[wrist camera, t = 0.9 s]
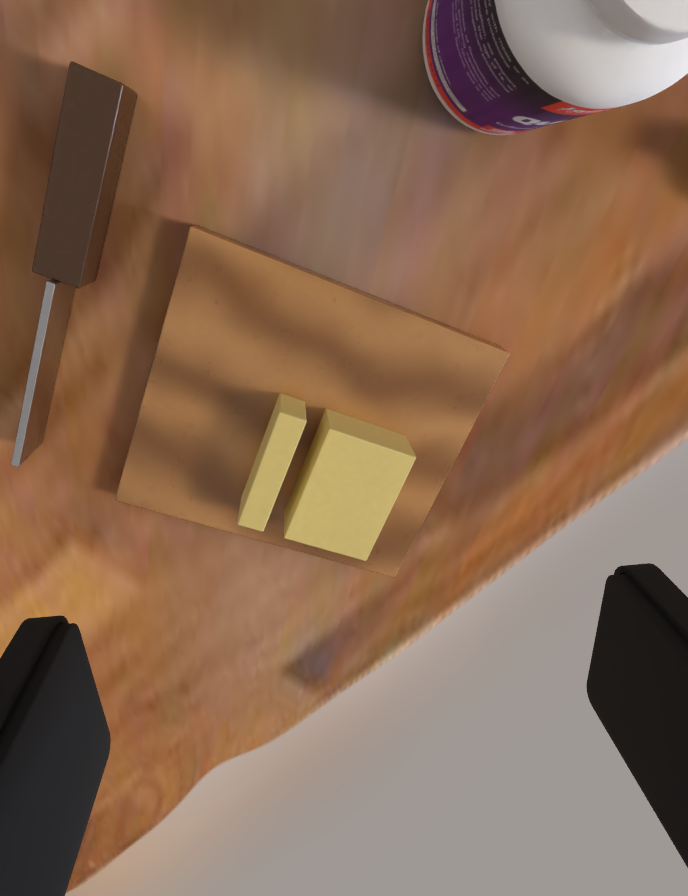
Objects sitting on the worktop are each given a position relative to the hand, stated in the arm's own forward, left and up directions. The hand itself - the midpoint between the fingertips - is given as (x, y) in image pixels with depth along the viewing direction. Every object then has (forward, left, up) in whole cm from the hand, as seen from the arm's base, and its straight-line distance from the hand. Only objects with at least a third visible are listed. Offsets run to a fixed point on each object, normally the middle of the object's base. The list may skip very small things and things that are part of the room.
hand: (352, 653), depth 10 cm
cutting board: (+4, +2, -24) cm, 24 cm away
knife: (+1, -12, -24) cm, 27 cm away
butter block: (+6, +5, -22) cm, 24 cm away
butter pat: (+6, 0, -22) cm, 23 cm away
